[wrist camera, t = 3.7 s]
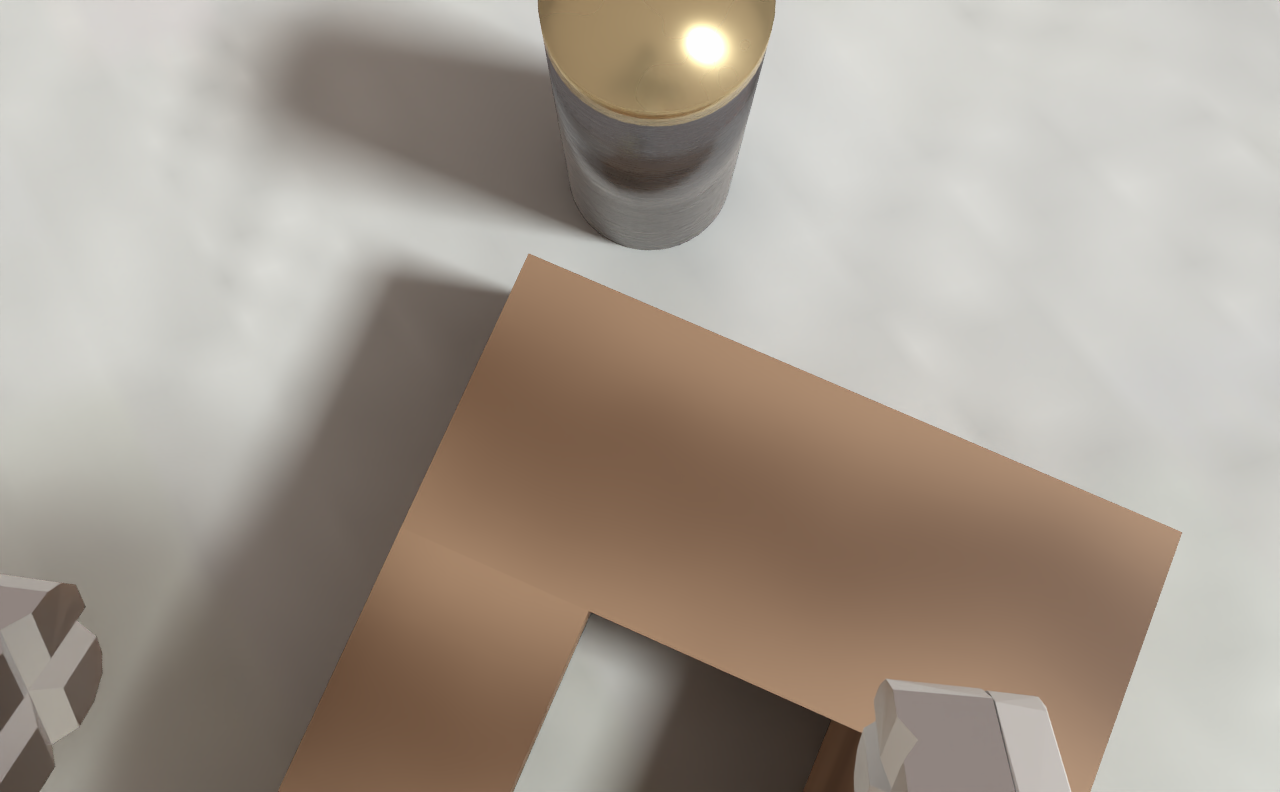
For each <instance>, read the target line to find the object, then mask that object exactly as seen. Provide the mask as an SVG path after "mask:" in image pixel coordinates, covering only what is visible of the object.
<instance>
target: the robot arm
mask: <svg viewBox="0 0 1280 792" xmlns="http://www.w3.org/2000/svg"><path fill="white" fill-rule="evenodd" d="M85 607H86V606H85V604H84V602H83V600H82V597H81V595H80V593H79V591H78V588H77V586H76V585H74V584H67V583H60V582H54V581H47V580H40V579H33V578H26V577H19V576H12V575H5V574H0V792H40V790H41V789H42V787H43V785H44V784H45V782H46V780H47V779H48V777H49V776H50V774H51V772H52V771H53V769H54V768H55V762H54V755H53V748H52V745H53V744H54V743H56V742H57V741H59V740H60V739H62V738H63V737H65V736H66V735H68V734H69V733H71V732H73V731H74V730H76V729H77V728H79V727H80V725H81V723H82V722H83V720H84V718H85V717H86V715H87V713H88V711H89V710H90V708H91V706H92V705H93V703H94V701H95V697H96V694H97V690H98V687H99V683H100V680H101V677H102V673H103V672H102V651H101V648H100V645H99V642H98V639H97V636H96V635H94V634H93V633H92V632H91V631H90V630H88V629H87V628H86V627H85V626H83V625H82V624H81V623H80V622H79V621H77V619H78V618H79V616H80V615H81V613H82V612H83V610H84V609H85ZM874 709H875V717H876V721H875V722H873V723H871V724H870V725H868V726H866V727H864V729H863V732H862V735H861V738H860V741H859V745H858V748H857V754H856V762H855V770H854V792H1071V789H1070V785H1069V782H1068V779H1067V775H1066V772H1065V768H1064V765H1063V762H1062V758H1061V755H1060V752H1059V748H1058V745H1057V742H1056V738H1055V735H1054V731H1053V728H1052V725H1051V721H1050V718H1049V715H1048V711H1047V708H1046V706H1045V705H1044V703H1043V702H1042V701H1041V699H1040V698H1039V697H1037V696H1031V695H1022V694H1013V693H1004V692H995V691H984V690H983V689H980V688H971V687H961V686H951V685H942V684H932V683H923V682H913V681H903V680H894V679H885V680H884V681H883V682H882V683H881V684H880V685H879V688H878V690H877V693H876V696H875V698H874Z"/></svg>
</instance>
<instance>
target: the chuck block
mask: <svg viewBox="0 0 1280 792" xmlns="http://www.w3.org/2000/svg"><path fill="white" fill-rule="evenodd" d="M1181 534H1182V532H1180V531H1178V530H1175V529H1173V528H1171V527H1168V526H1166V525H1164V524H1161V523H1159V522H1157V521H1154V520H1152V519H1150V518H1147V517H1145V516H1143V515H1140V514H1138V513H1136V512H1133V511H1131V510H1129V509H1126V508H1124V507H1121V506H1119V505H1117V504H1114V503H1112V502H1110V501H1107V500H1105V499H1103V498H1100V497H1098V496H1096V495H1093V494H1091V493H1089V492H1086V491H1084V490H1082V489H1079V488H1077V487H1075V486H1072V485H1070V484H1068V483H1065V482H1063V481H1061V480H1058V479H1056V478H1054V477H1051V476H1049V475H1047V474H1044V473H1042V472H1039V471H1037V470H1035V469H1032V468H1030V467H1028V466H1025V465H1023V464H1021V463H1018V462H1016V461H1014V460H1011V459H1009V458H1007V457H1004V456H1002V455H1000V454H997V453H995V452H993V451H990V450H988V449H986V448H983V447H981V446H979V445H976V444H974V443H972V442H969V441H967V440H965V439H962V438H960V437H957V436H955V435H953V434H950V433H948V432H946V431H943V430H941V429H939V428H936V427H934V426H932V425H929V424H927V423H925V422H922V421H920V420H918V419H915V418H913V417H911V416H908V415H906V414H904V413H901V412H899V411H897V410H894V409H892V408H890V407H887V406H885V405H882V404H880V403H878V402H875V401H873V400H871V399H868V398H866V397H864V396H861V395H859V394H857V393H854V392H852V391H850V390H847V389H845V388H843V387H840V386H838V385H836V384H833V383H831V382H829V381H826V380H824V379H822V378H819V377H817V376H815V375H812V374H810V373H808V372H805V371H803V370H800V369H798V368H796V367H793V366H791V365H789V364H786V363H784V362H782V361H779V360H777V359H775V358H772V357H770V356H768V355H765V354H763V353H761V352H758V351H756V350H754V349H751V348H749V347H747V346H744V345H742V344H740V343H737V342H735V341H733V340H730V339H728V338H725V337H723V336H721V335H718V334H716V333H714V332H711V331H709V330H707V329H704V328H702V327H700V326H697V325H695V324H693V323H690V322H688V321H686V320H683V319H681V318H679V317H676V316H674V315H672V314H669V313H667V312H665V311H662V310H660V309H658V308H655V307H653V306H651V305H648V304H646V303H643V302H641V301H639V300H636V299H634V298H632V297H629V296H627V295H625V294H622V293H620V292H618V291H615V290H613V289H611V288H608V287H606V286H604V285H601V284H599V283H597V282H594V281H592V280H590V279H587V278H585V277H583V276H580V275H578V274H576V273H573V272H571V271H568V270H566V269H564V268H561V267H559V266H557V265H554V264H552V263H550V262H547V261H545V260H543V259H540V258H538V257H536V256H533V255H531V254H528V256H527V258H526V260H525V263H524V265H523V267H522V269H521V271H520V273H519V275H518V278H517V280H516V282H515V284H514V286H513V288H512V290H511V293H510V295H509V297H508V299H507V301H506V303H505V305H504V308H503V310H502V312H501V314H500V316H499V318H498V320H497V323H496V325H495V327H494V329H493V331H492V333H491V335H490V338H489V340H488V342H487V344H486V346H485V348H484V350H483V353H482V355H481V357H480V359H479V361H478V363H477V365H476V368H475V370H474V372H473V374H472V376H471V378H470V380H469V383H468V385H467V387H466V389H465V391H464V393H463V395H462V398H461V400H460V402H459V404H458V406H457V408H456V410H455V413H454V415H453V417H452V419H451V421H450V423H449V425H448V428H447V430H446V432H445V434H444V436H443V438H442V440H441V443H440V445H439V447H438V449H437V451H436V453H435V455H434V458H433V460H432V462H431V464H430V466H429V468H428V470H427V473H426V475H425V477H424V479H423V481H422V483H421V485H420V488H419V490H418V492H417V494H416V496H415V498H414V500H413V503H412V505H411V507H410V509H409V511H408V513H407V515H406V518H405V520H404V522H403V524H402V526H401V528H400V530H399V533H398V535H397V537H396V539H395V541H394V543H393V545H392V548H391V550H390V552H389V554H388V556H387V558H386V560H385V563H384V565H383V567H382V569H381V571H380V573H379V575H378V578H377V580H376V582H375V584H374V586H373V588H372V590H371V592H370V595H369V597H368V599H367V601H366V603H365V605H364V607H363V610H362V612H361V614H360V616H359V618H358V620H357V622H356V625H355V627H354V629H353V631H352V633H351V635H350V637H349V640H348V642H347V644H346V646H345V648H344V650H343V652H342V655H341V657H340V659H339V661H338V663H337V665H336V667H335V670H334V672H333V674H332V676H331V678H330V680H329V682H328V685H327V687H326V689H325V691H324V693H323V695H322V697H321V700H320V702H319V704H318V706H317V708H316V710H315V712H314V715H313V717H312V719H311V721H310V723H309V725H308V727H307V730H306V732H305V734H304V736H303V738H302V740H301V742H300V745H299V747H298V749H297V751H296V753H295V755H294V757H293V760H292V762H291V764H290V766H289V768H288V770H287V772H286V775H285V777H284V779H283V781H282V783H281V785H280V787H279V790H278V792H513V791H514V789H515V786H516V784H517V782H518V779H519V777H520V775H521V773H522V770H523V768H524V766H525V763H526V761H527V759H528V756H529V754H530V752H531V749H532V747H533V745H534V743H535V740H536V738H537V736H538V733H539V731H540V729H541V726H542V724H543V722H544V720H545V717H546V715H547V713H548V710H549V708H550V706H551V703H552V701H553V699H554V697H555V694H556V692H557V690H558V687H559V685H560V683H561V680H562V678H563V676H564V673H565V671H566V669H567V667H568V664H569V662H570V660H571V657H572V655H573V653H574V650H575V648H576V646H577V644H578V641H579V639H580V637H581V634H582V632H583V630H584V627H585V625H586V623H587V621H588V618H589V616H590V614H591V612H592V613H594V614H596V615H599V616H601V617H603V618H605V619H608V620H610V621H612V622H614V623H617V624H619V625H621V626H623V627H625V628H628V629H630V630H632V631H634V632H637V633H639V634H641V635H643V636H646V637H648V638H650V639H652V640H655V641H657V642H659V643H661V644H664V645H666V646H668V647H670V648H673V649H675V650H677V651H679V652H682V653H684V654H686V655H688V656H691V657H693V658H695V659H697V660H699V661H702V662H704V663H706V664H708V665H711V666H713V667H715V668H717V669H720V670H722V671H724V672H726V673H729V674H731V675H733V676H735V677H738V678H740V679H742V680H744V681H747V682H749V683H751V684H753V685H756V686H758V687H760V688H762V689H765V690H767V691H769V692H771V693H773V694H776V695H778V696H780V697H782V698H785V699H787V700H789V701H791V702H794V703H796V704H798V705H800V706H803V707H805V708H807V709H809V710H812V711H814V712H816V713H818V714H821V715H823V716H825V717H827V718H830V719H831V722H830V724H829V727H828V729H827V732H826V734H825V737H824V739H823V742H822V745H821V747H820V750H819V752H818V755H817V757H816V760H815V762H814V765H813V767H812V770H811V772H810V775H809V777H808V780H807V783H806V785H805V788H804V790H803V792H854V770H855V762H856V754H857V748H858V745H859V741H860V738H861V735H862V732H863V729H864V727H866V726H868V725H870V724H871V723H873V722H875V721H876V717H875V709H874V698H875V696H876V693H877V690H878V688H879V685H880V684H881V683H882V682H883V681H884V680H885V679H894V680H903V681H913V682H923V683H932V684H942V685H951V686H961V687H971V688H980V689H983V690H984V691H995V692H1004V693H1013V694H1022V695H1031V696H1037V697H1039V698H1040V699H1041V701H1042V702H1043V703H1044V705H1045V706H1046V708H1047V711H1048V715H1049V718H1050V721H1051V725H1052V728H1053V731H1054V735H1055V738H1056V742H1057V745H1058V748H1059V752H1060V755H1061V758H1062V762H1063V765H1064V768H1065V772H1066V775H1067V779H1068V782H1069V785H1070V789H1071V792H1090V791H1091V788H1092V785H1093V782H1094V780H1095V777H1096V774H1097V771H1098V768H1099V765H1100V763H1101V760H1102V757H1103V754H1104V751H1105V749H1106V746H1107V743H1108V740H1109V737H1110V734H1111V732H1112V729H1113V726H1114V723H1115V720H1116V718H1117V715H1118V712H1119V709H1120V706H1121V703H1122V701H1123V698H1124V695H1125V692H1126V689H1127V687H1128V684H1129V681H1130V678H1131V675H1132V672H1133V670H1134V667H1135V664H1136V661H1137V658H1138V655H1139V653H1140V650H1141V647H1142V644H1143V641H1144V639H1145V636H1146V633H1147V630H1148V627H1149V624H1150V622H1151V619H1152V616H1153V613H1154V610H1155V608H1156V605H1157V602H1158V599H1159V596H1160V593H1161V591H1162V588H1163V585H1164V582H1165V579H1166V577H1167V574H1168V571H1169V568H1170V565H1171V562H1172V560H1173V557H1174V554H1175V551H1176V548H1177V545H1178V543H1179V540H1180V537H1181Z"/></svg>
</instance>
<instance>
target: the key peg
mask: <svg viewBox="0 0 1280 792" xmlns="http://www.w3.org/2000/svg"><path fill="white" fill-rule="evenodd" d="M775 2H776V1H775V0H538V12H539V18H540V24H541V29H542V35H543V40H544V45H545V51H546V56H547V62H548V67H549V73H550V78H551V84H552V89H553V95H554V100H555V106H556V111H557V116H558V122H559V127H560V133H561V138H562V144H563V149H564V155H565V160H566V166H567V171H568V177H569V182H570V187H571V192H572V195H573V198H574V201H575V203H576V205H577V207H578V209H579V211H580V212H581V214H582V215H583V217H584V218H585V219H586V220H587V222H588V223H589V224H590V225H591V226H592V227H593V228H594V229H595V230H596V231H598V232H599V233H600V234H602V235H603V236H604V237H606V238H607V239H609V240H611V241H613V242H615V243H617V244H620V245H623V246H626V247H630V248H634V249H641V250H660V249H666V248H671V247H674V246H677V245H680V244H682V243H685V242H687V241H689V240H691V239H692V238H694V237H696V236H697V235H699V234H700V233H701V232H702V231H704V230H705V229H706V228H707V227H708V226H709V225H710V224H711V223H712V222H713V221H714V219H715V218H716V216H717V215H718V214H719V212H720V210H721V209H722V207H723V205H724V203H725V200H726V197H727V195H728V191H729V187H730V184H731V180H732V176H733V172H734V169H735V165H736V161H737V157H738V154H739V150H740V146H741V142H742V139H743V135H744V131H745V127H746V124H747V120H748V116H749V112H750V109H751V105H752V101H753V97H754V94H755V90H756V86H757V83H758V79H759V75H760V71H761V68H762V64H763V60H764V56H765V53H766V49H767V45H768V41H769V38H770V34H771V30H772V25H773V21H774V16H775Z"/></svg>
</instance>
